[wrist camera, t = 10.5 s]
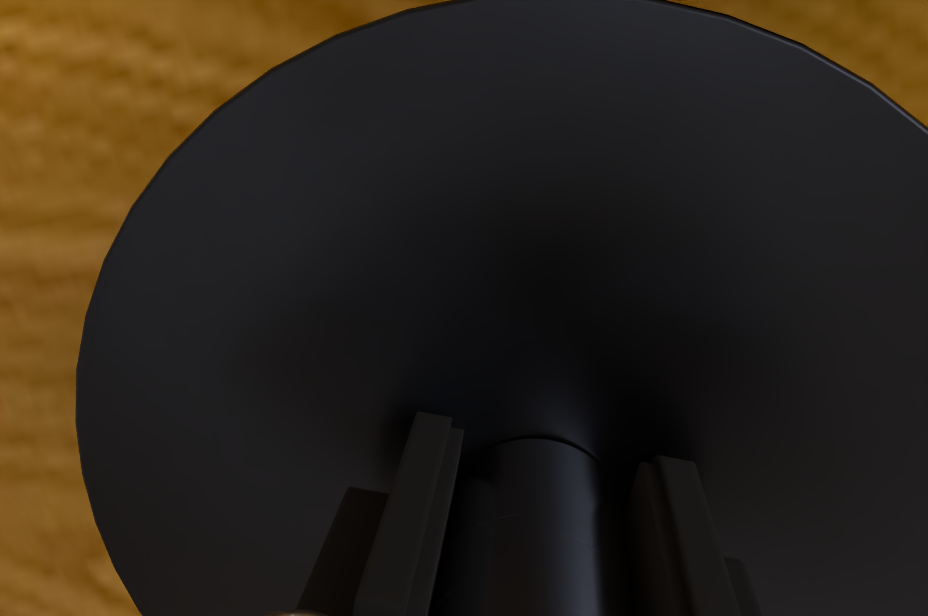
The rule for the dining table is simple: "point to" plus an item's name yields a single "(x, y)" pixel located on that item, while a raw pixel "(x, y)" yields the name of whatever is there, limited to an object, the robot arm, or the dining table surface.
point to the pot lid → (523, 313)
